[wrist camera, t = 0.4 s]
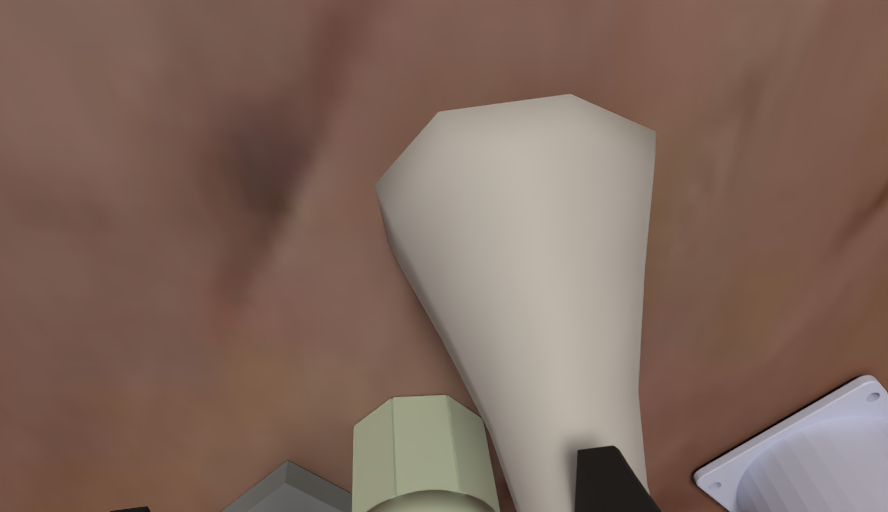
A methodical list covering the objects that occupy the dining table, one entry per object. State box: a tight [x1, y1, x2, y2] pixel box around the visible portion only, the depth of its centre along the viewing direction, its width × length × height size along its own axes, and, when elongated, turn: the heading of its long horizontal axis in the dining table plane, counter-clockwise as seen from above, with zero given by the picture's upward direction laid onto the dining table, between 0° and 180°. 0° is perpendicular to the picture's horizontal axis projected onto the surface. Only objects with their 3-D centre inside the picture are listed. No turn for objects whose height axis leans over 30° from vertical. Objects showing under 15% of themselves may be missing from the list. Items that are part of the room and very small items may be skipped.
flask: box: [375, 94, 656, 512], centre depth 15 cm, size 7×7×10 cm
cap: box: [352, 395, 500, 512], centre depth 23 cm, size 5×5×6 cm
